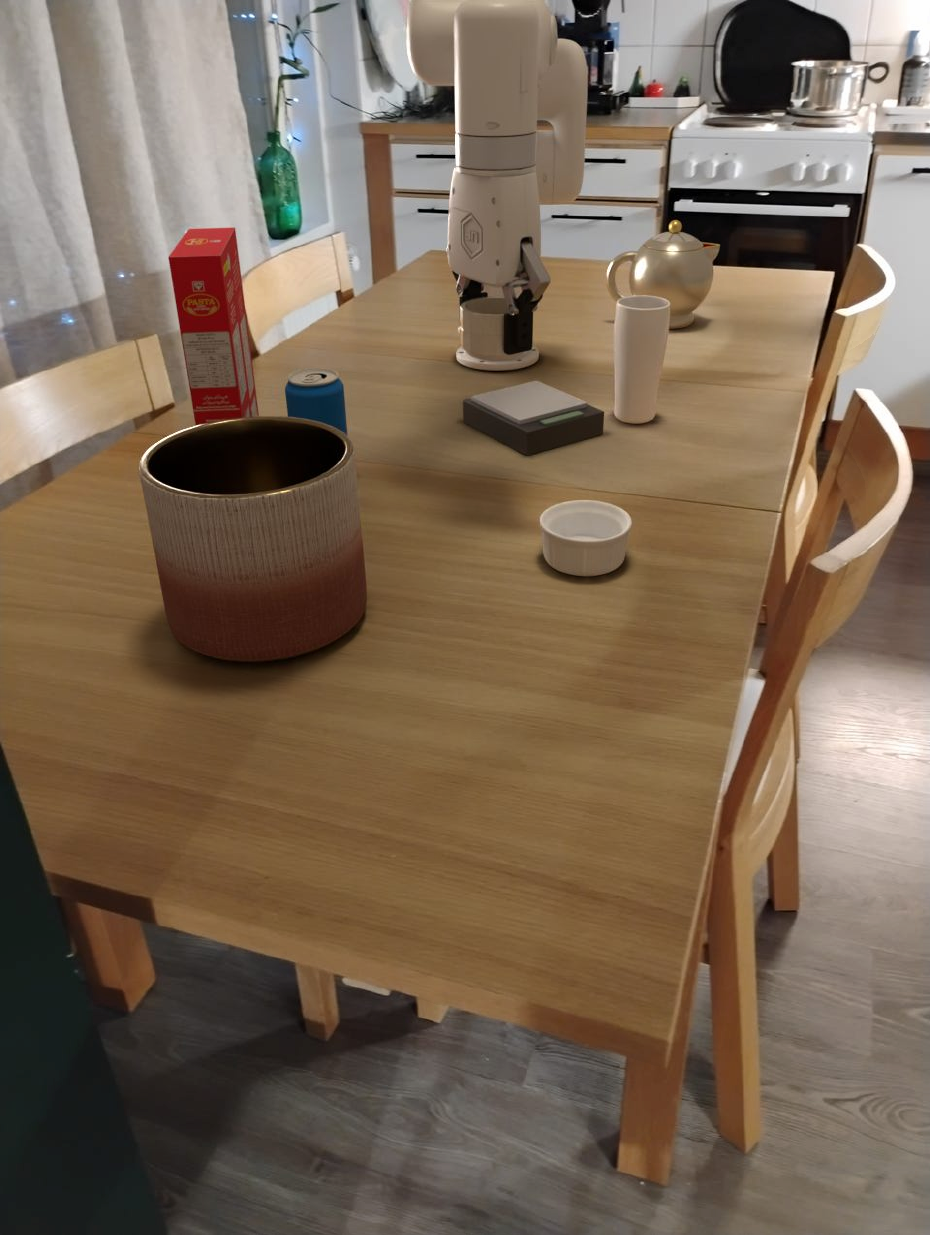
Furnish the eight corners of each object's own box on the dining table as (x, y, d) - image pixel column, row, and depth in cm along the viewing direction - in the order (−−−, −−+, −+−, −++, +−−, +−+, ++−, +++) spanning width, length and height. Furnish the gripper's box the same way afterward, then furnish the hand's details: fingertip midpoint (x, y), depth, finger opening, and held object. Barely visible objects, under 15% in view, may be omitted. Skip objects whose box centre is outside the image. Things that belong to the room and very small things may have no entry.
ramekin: (605, 589, 94) (607, 548, 92) (522, 566, 98) (523, 526, 96) (643, 551, 100) (646, 511, 98) (564, 530, 104) (565, 492, 102)
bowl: (448, 348, 104) (447, 303, 102) (503, 336, 108) (503, 293, 105) (486, 366, 100) (486, 319, 97) (542, 353, 103) (544, 307, 100)
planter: (387, 650, 86) (376, 481, 77) (174, 687, 82) (138, 512, 73) (348, 556, 100) (335, 404, 92) (165, 583, 96) (134, 427, 88)
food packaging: (219, 434, 129) (188, 228, 116) (260, 432, 129) (235, 227, 116) (204, 481, 116) (168, 257, 103) (250, 478, 117) (220, 255, 104)
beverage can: (359, 468, 119) (352, 369, 112) (336, 490, 114) (326, 388, 107) (310, 462, 121) (300, 364, 114) (284, 483, 115) (273, 382, 109)
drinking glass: (659, 428, 128) (670, 310, 120) (606, 425, 129) (613, 308, 122) (661, 410, 134) (672, 296, 126) (610, 407, 135) (617, 294, 127)
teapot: (704, 312, 174) (715, 211, 166) (717, 334, 163) (730, 228, 154) (600, 312, 175) (606, 212, 167) (606, 334, 164) (612, 229, 155)
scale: (463, 421, 131) (462, 395, 129) (536, 403, 137) (536, 377, 135) (527, 455, 121) (527, 427, 120) (603, 434, 127) (604, 407, 125)
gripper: (413, 147, 98) (420, 328, 108) (518, 169, 86) (515, 372, 95) (476, 140, 102) (478, 317, 111) (586, 160, 89) (577, 357, 99)
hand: (495, 341), depth 103 cm, fingers closed on bowl, 7 cm apart
